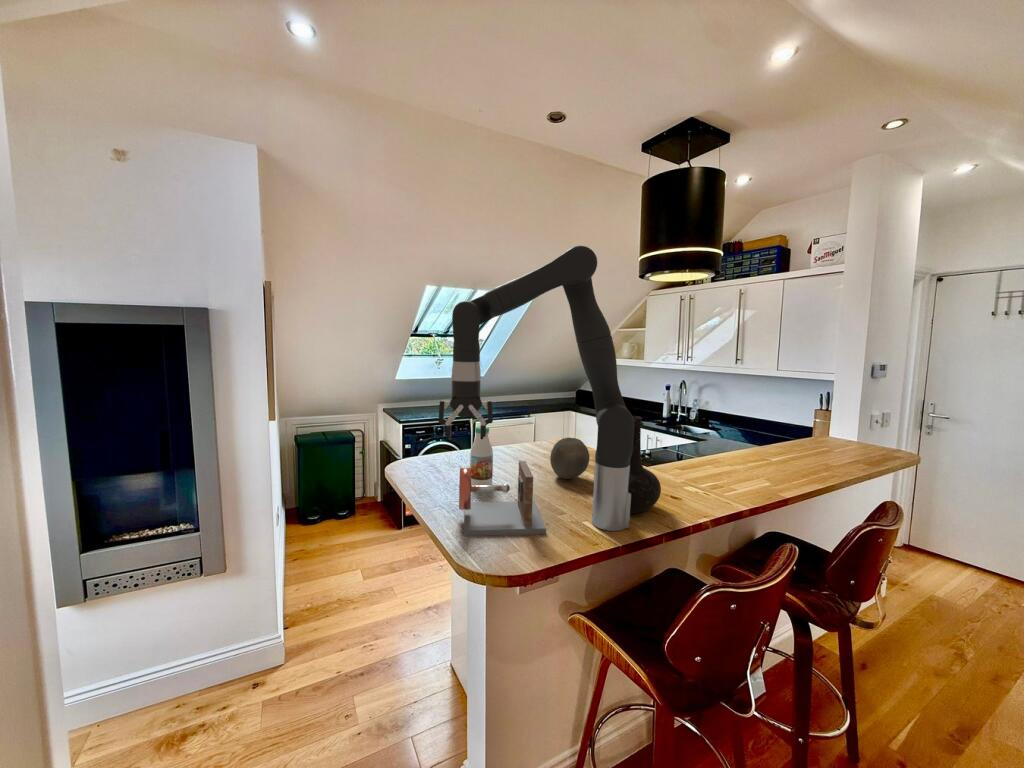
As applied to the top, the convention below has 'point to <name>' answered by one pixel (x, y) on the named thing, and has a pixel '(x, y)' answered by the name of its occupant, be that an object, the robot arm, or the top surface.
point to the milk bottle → (481, 460)
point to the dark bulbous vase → (641, 477)
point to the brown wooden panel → (525, 492)
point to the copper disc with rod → (473, 488)
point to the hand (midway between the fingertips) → (465, 438)
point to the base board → (500, 519)
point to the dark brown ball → (569, 458)
